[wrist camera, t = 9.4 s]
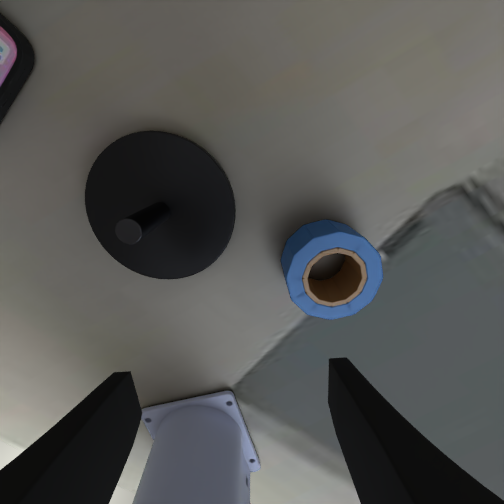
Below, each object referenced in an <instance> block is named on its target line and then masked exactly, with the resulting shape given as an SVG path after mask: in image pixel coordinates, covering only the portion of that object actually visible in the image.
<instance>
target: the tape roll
mask: <svg viewBox="0 0 504 504" xmlns="http://www.w3.org/2000/svg"><path fill="white" fill-rule="evenodd" d="M334 253H341V254H344V256H345V261H344V263H343V266H342V268H341V270H340V271H339V272H338V273H337V274H336V275H334V276H333V277H332V278H329V279H325V280H321V281H320V280H315V279H311V278H309V277H308V275H309V273H310V270H311V267H312V265H314V264H315V263H316V262H317V261H318V260H319V259H320V258H322V257H323V256H326V255H330V254H334ZM281 264H282V268H283V272H284V276H285V280H286V283H287V287H288V290H289V294H290V298H291V300H292V301H293V302H294V303H295V304H296V305H297V306H298V307H299V308H300V309H302V310H303V311H304V312H305V313H306V314H307V315H311V316H315V317H320V318H324V319H328V320H330V319H331V320H332V319H337V318H341V317H345V316H350V315H353V314H355V313H357V312H358V311H359V310H361V309H362V308H363V307H365V306H366V305H367V304H368V303H370V302H371V301H372V300H373V298H374V296H375V294H376V292H377V290H378V288H379V286H380V284H381V282H382V278H383V272H382V264H381V256H380V254H379V253H378V252H377V250H376V249H375V248H374V247H373V246H372V245H371V244H370V243H369V242H368V240H367V239H366V238H364V237H363V236H362V235H360V234H359V233H357V232H356V231H355V230H353V229H352V228H350V227H349V226H347V225H346V224H343V223H339V222H335V221H331V220H328V219H326V220H325V219H324V220H321V221H317V222H313V223H309V224H305V225H303V226H302V227H301V228H299V229H298V230H297V231H296V232H295V233H294V234H293V235H292V236H291V237H290V238H289V239H288V240H287V241H286V245H285V248H284V251H283V254H282V257H281Z"/></svg>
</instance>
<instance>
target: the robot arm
mask: <svg viewBox="0 0 504 504" xmlns="http://www.w3.org/2000/svg"><path fill="white" fill-rule="evenodd" d="M228 401H231V402H228ZM328 404H329V408H330V412H331V416H332V420H333V424H334V428H335V432H336V435H337V438H338V441H339V444H340V446H341V449H342V452H343V455H344V458H345V461H346V463H347V466H348V469H349V472H350V474H351V477H352V480H353V483H354V486H355V488H356V491H357V494H358V497H359V500H360V502H361V504H504V501H503V500H502V499H501V498H499V497H498V496H497V495H495V494H494V493H493V492H491V491H490V490H488V489H487V488H486V487H484V486H483V485H482V484H481V483H479V482H478V481H477V480H476V479H474V478H473V477H472V476H470V475H469V474H468V473H467V472H465V471H464V470H463V469H462V468H460V467H459V466H458V465H457V464H456V463H454V462H453V461H452V460H451V459H450V458H448V457H447V456H446V455H445V454H444V453H442V452H441V451H440V450H439V449H438V448H437V447H436V446H434V445H433V444H432V443H431V442H430V441H429V440H428V439H426V438H425V437H424V436H423V435H422V434H421V433H420V432H419V431H418V430H417V429H416V428H414V427H413V426H412V425H411V424H410V423H409V422H408V421H407V420H406V419H405V418H404V417H403V416H402V415H401V414H400V413H399V412H398V411H397V410H396V409H395V408H394V407H393V406H392V405H391V404H390V403H389V402H388V401H387V400H386V399H385V398H384V397H383V396H382V395H381V394H380V393H379V392H378V391H377V390H376V389H375V388H374V387H373V386H372V385H371V384H370V383H369V382H368V380H367V379H366V378H365V377H364V376H363V375H362V374H361V373H360V372H359V371H358V369H357V368H356V367H355V366H354V365H353V364H352V363H351V362H350V360H349V359H347V358H331V359H329V385H328ZM141 419H142V420H143V422H144V424H145V426H146V428H147V429H148V431H149V433H150V435H151V437H152V438H153V440H154V442H153V445H152V448H151V451H150V454H149V457H148V460H147V463H146V465H145V468H144V471H143V474H142V477H141V480H140V483H139V486H138V489H137V492H136V495H135V497H134V501H133V504H250V472H255V471H258V470H260V461H259V459H258V456H257V453H256V451H255V448H254V446H253V443H252V440H251V438H250V435H249V432H248V430H247V427H246V425H245V422H244V419H243V417H242V414H241V412H240V409H239V406H238V404H237V401H236V399H235V396H234V394H233V392H231V391H223V392H218V393H213V394H208V395H204V396H199V397H194V398H189V399H185V400H180V401H175V402H171V403H166V404H161V405H156V406H152V407H147V408H144V409H142V410H141V407H140V403H139V400H138V396H137V393H136V389H135V386H134V382H133V379H132V375H131V371H128V372H114V373H113V374H112V375H110V376H109V377H108V378H107V379H106V380H105V381H103V382H102V383H101V384H100V385H99V386H98V387H97V388H96V389H95V390H93V391H92V392H91V393H90V394H89V395H88V396H87V397H86V398H85V399H84V400H82V401H81V402H80V403H79V404H78V405H77V406H76V407H75V408H73V409H72V410H71V411H70V412H69V413H68V414H67V415H66V416H64V417H63V418H62V419H61V420H60V421H59V422H58V423H57V424H55V425H54V426H53V427H52V428H51V429H50V430H48V431H47V432H46V433H45V434H44V435H42V436H41V437H40V438H39V439H38V440H37V441H35V442H34V443H33V444H32V445H31V446H29V447H28V448H27V449H26V450H25V451H23V452H22V453H21V454H20V455H19V456H18V457H16V458H15V459H14V460H13V461H11V462H10V463H9V464H8V465H6V466H5V467H4V468H2V469H1V470H0V504H109V502H110V499H111V497H112V494H113V492H114V490H115V488H116V485H117V483H118V480H119V478H120V476H121V473H122V471H123V468H124V466H125V464H126V461H127V459H128V456H129V454H130V451H131V449H132V447H133V444H134V440H135V437H136V434H137V431H138V427H139V424H140V420H141Z"/></svg>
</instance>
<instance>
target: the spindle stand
mask: <svg viewBox="0 0 504 504" xmlns="http://www.w3.org/2000/svg"><path fill="white" fill-rule="evenodd" d="M85 205H86V212H87V216H88V219H89V222H90V225H91V227H92V230H93V232H94V234H95V235H96V237H97V239H98V240H99V242H100V243H101V245H102V246H103V247H104V249H105V250H106V251H107V252H108V253H109V254H110V255H111V256H112V257H113V258H114V259H116V260H117V261H118V262H119V263H121V264H122V265H124V266H125V267H127V268H129V269H130V270H132V271H134V272H137V273H139V274H142V275H145V276H148V277H152V278H158V279H178V278H184V277H188V276H191V275H194V274H196V273H198V272H200V271H202V270H204V269H206V268H207V267H209V266H210V265H211V264H212V263H213V262H215V261H216V260H217V259H218V257H219V256H220V255H221V254H222V253H223V251H224V250H225V248H226V247H227V244H228V242H229V240H230V238H231V235H232V232H233V228H234V223H235V212H236V209H235V199H234V195H233V190H232V188H231V185H230V182H229V180H228V178H227V176H226V174H225V172H224V171H223V169H222V168H221V166H220V165H219V163H218V162H217V161H216V160H215V159H214V158H213V157H212V156H211V155H210V154H209V153H208V152H207V151H206V150H205V149H203V148H202V147H200V146H199V145H197V144H196V143H194V142H192V141H190V140H188V139H186V138H184V137H181V136H178V135H175V134H171V133H167V132H161V131H143V132H137V133H133V134H129V135H127V136H124V137H122V138H120V139H118V140H116V141H115V142H113V143H112V144H110V145H109V146H108V147H107V148H105V149H104V151H103V152H102V153H101V154H100V155H99V156H98V158H97V159H96V161H95V162H94V164H93V166H92V168H91V170H90V172H89V175H88V179H87V182H86V189H85Z"/></svg>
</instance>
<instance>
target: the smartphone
mask: <svg viewBox="0 0 504 504" xmlns="http://www.w3.org/2000/svg"><path fill="white" fill-rule="evenodd" d="M33 63H34V54H33V50H32V47H31V45H30V44H29V42H28V40H27V39H26V38H25V37H24V35H23V34H22V33H21V32H20V31H19V30H18V29H17V28H15V27H14V26H13V25H12V24H11V23H10V22H9V21H8V20H7V19H6V18H5V17H4V16H2V15H1V14H0V122H1V120H2V119H3V117H4V115H5V114H6V112H7V110H8V109H9V107H10V105H11V103H12V102H13V100H14V98H15V97H16V95H17V93H18V92H19V90H20V88H21V87H22V85H23V83H24V82H25V80H26V78H27V77H28V75H29V73H30V72H31V70H32V67H33Z"/></svg>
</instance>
